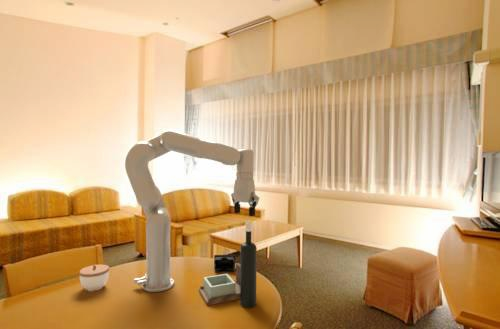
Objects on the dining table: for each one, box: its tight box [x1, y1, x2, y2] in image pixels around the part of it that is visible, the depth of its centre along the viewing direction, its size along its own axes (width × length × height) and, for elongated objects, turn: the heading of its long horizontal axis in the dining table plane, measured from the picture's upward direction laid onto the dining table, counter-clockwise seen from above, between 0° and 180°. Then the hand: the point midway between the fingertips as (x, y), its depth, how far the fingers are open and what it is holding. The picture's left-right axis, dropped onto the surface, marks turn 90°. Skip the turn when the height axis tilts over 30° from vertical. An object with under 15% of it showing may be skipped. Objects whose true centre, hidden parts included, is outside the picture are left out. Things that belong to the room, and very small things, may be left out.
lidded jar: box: [79, 264, 110, 292], centre depth 118 cm, size 11×11×9 cm
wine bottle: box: [239, 220, 258, 309], centre depth 105 cm, size 6×6×30 cm
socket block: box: [203, 273, 236, 298], centre depth 113 cm, size 10×10×4 cm
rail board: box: [198, 262, 241, 306], centre depth 113 cm, size 17×12×9 cm
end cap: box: [213, 254, 236, 273], centre depth 139 cm, size 10×7×7 cm
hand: (244, 214), depth 131 cm, fingers open, 9 cm apart
